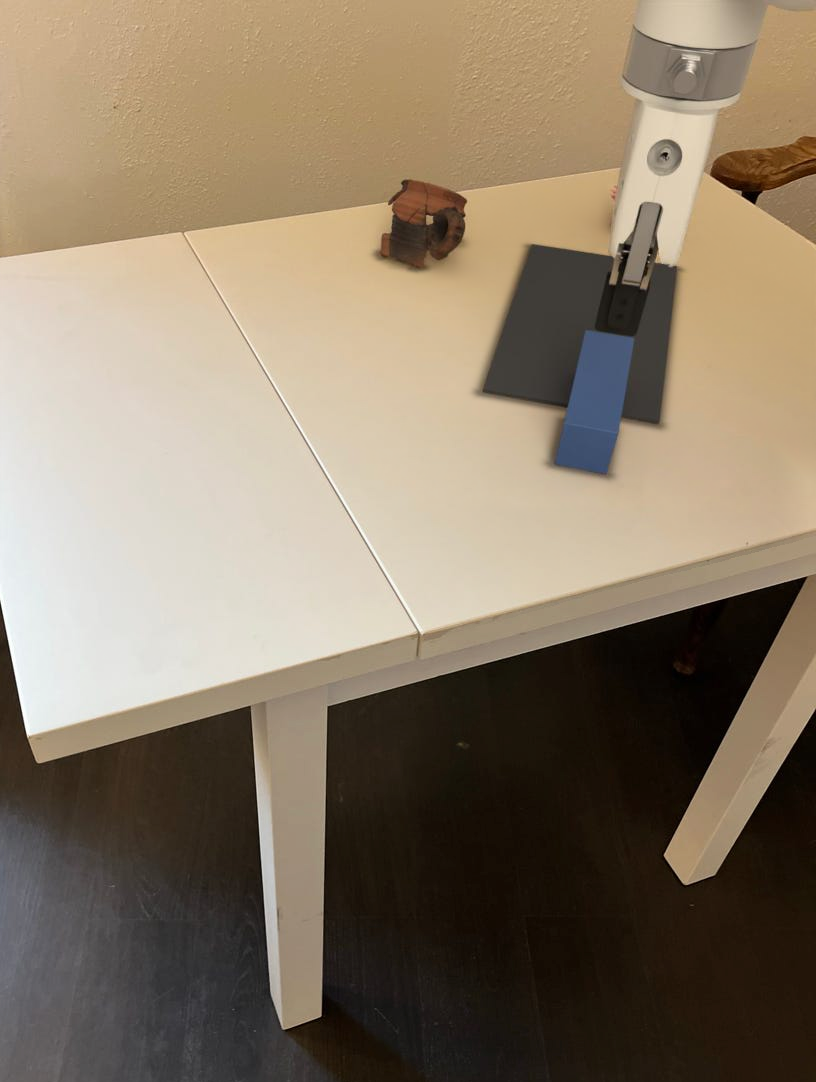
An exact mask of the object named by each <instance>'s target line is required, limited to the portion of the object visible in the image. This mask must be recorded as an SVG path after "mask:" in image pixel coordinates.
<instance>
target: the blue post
mask: <svg viewBox="0 0 816 1082" xmlns="http://www.w3.org/2000/svg"><path fill="white" fill-rule="evenodd" d="M633 344H634V338H630V337H624V336H618V335H612V334H606V333H600V332H594V331H588V330H585V334H584V338H583V342H582V346H581V350H580V355H579V359H578V363H577V367H576V371H575V376H574V380H573V384H572V389H571V393H570V398H569V402H568V406H567V407H566V411H565V416H564V419H563V425H562V429H561V433H560V437H559V442H558V446H557V452H556V455H555V459H554V465H556V466H561V467H565V468H571V469H576V470H580V471H587V472H591V473H596V474H597V473H598V474H602V475H607V473H608V471H609V467H610V463H611V460H612V456H613V453H614V451H615V450H614V449H615V446H616V444H617V440H618V437H619V434H620V433H619V432H620V426H621V421H622V417H621V416H622V410H623V404H624V398H625V392H626V386H627V380H628V374H629V368H630V362H631V356H632V350H633Z"/></svg>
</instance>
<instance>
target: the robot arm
mask: <svg viewBox="0 0 816 1082" xmlns="http://www.w3.org/2000/svg"><path fill="white" fill-rule="evenodd" d="M769 5H770V6H772V7H774V8H776V9H777V8H778V9H780V10H784V11H789V12H812V11H816V0H638V1H637V4H636V10H635V14H634V18H633V24H632V28H631V32H630V36H629V41H628V44H627V49H626V54H625V59H624V63H623V66H622V67H623V68H622V73H621V76H620V80H619V84H620V88H622V89H623V92H625V93H626V94H628V95H629V96H631V97H633V98H635V100H634V106H633V107H632V113H631V116H630V121H629V126H628V131H627V134H626V138H625V144H624V148H623V154H622V156H621V157H622V158H621V163H620V168H619V173H618V179H617V185H616V186H617V189H615V190H616V196H615V201H613V211H612V217H611V224H610V225H611V226H610V232H609V242H608V253H609V254H610V255H609V256H612V257H613V258H614V261H613V265H612V272H609V271H608V272H607V277H606V281H605V285H604V289H603V293H602V297H601V301H600V305H599V309H598V313H597V317H596V322H595V329H596V330H597V331H601V332H607V333H613V334H619V335H626V336H634V335H636V334H637V331H638V327H639V324H640V320H641V317H642V313H643V310H644V306H645V303H646V299H647V296H648V292H649V289H650V282H651V278H650V276H651V273H652V270H653V266H654V263H656V260H657V258H658V255H659V262H660V264H666V265H668V267H673V266H677V264H679V262H680V258H681V254H682V250H683V246H684V243H685V239H686V236H687V232H688V228H689V225H690V222H691V217H692V214H693V210H694V207H695V204H696V200H697V196H698V193H699V189H700V187H701V182H702V180H703V176H704V172H705V168H706V164H707V161H708V157H709V154H710V150H711V147H712V142H713V139H714V135H715V130H716V126H717V121H718V117H719V111H720V109H723V108H728V107H730V106H732V105H734V104H735V103H737V102H738V101H739V99H740V97H741V94H742V92H743V88H744V86H745V85H744V84H745V81H746V78H747V75H748V71H749V68H750V65H751V62H752V59H753V55H754V52H755V49H756V45H757V43H758V39H759V36H760V33H761V31H762V26H763V24H764V20H765V17H766V14H767V10H768V8H769Z"/></svg>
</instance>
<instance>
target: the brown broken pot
mask: <svg viewBox="0 0 816 1082" xmlns="http://www.w3.org/2000/svg"><path fill="white" fill-rule="evenodd" d="M400 184H401V187H402V188H401V189H400V190H399V191H398V192H396V193H395V194H394V195H392V197H391V198H390V199H389V200H388V202H387V205H388V206H391V212H392V214H393V215H392V218H391V227H390V228H391V230H390V232H389V233H388V232H383V233H382V234H381V238H380V255H382V256H385V257H389V258H392V259H395V261H398V262H401V263H404V264H407V265H411V266H413V267H416V268H420V269H421V268H423V266H424V263H425V259H426V257H427V255H428V252H429V254H430V256H431V258H433V259H434V260H435V261H441V260H443V259H446V258H448V256H449V254H450V253H452V252H453V251H454V250H455V249H456V248H458V246H459V245H460V243H461V241H462V240H463V238H464V235H465V232H466V221H465V218H466V215H467V214H466V212H465V207H466V205H467V203H468V200H467V198H466V197H464V196H463V195H462V194H460V193H459V192H456V191H453V190H451V189H449V188H446V187H443V186H439V185H437V184H434V183H430V182H424V181H420V180H415V179H403V180H402V181H401V182H400ZM427 216H429V217H432V223H429V224H427Z"/></svg>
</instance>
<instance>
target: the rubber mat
mask: <svg viewBox="0 0 816 1082" xmlns="http://www.w3.org/2000/svg"><path fill="white" fill-rule="evenodd" d="M613 261H614V258H613V257H612V256H611V255H606V254H599V253H594V252H587V251H580V250H574V249H569V248H568V249H567V248H560V247H554V246H548V245H541V244H535V243H532V244H531V245H530V248H529V251H528V254H527V257H526V259H525V263H524V266H523V269H522V273H521V276H520V278H519V281H518V283H517V286H516V287H517V288H516V290H515V293H514V296H513V299H512V301H511V305H510V308H509V310H508V314H507V317H506V320H505V323H504V326H503V329H502V331H501V335H500V338H499V341H498V343H497V346H496V349H495V353H494V356H493V359H492V360H491V365H490V368H489V370H488V373H487V376H486V379H485V383H484V385H483V389H482V393H485V394H491V395H497V396H501V397H507V398H511V399H512V398H514V399H518V400H524V401H529V402H535V403H541V404H545V405H551V406H557V407H562V408H567V406H568V402H569V398H570V393H571V389H572V384H573V380H574V376H575V371H576V367H577V363H578V359H579V355H580V350H581V346H582V342H583V338H584V334H585V330H588V331H594V332H600V333H606V334H612V335H618V336H624V337H630V338H634V344H633V350H632V356H631V362H630V368H629V374H628V380H627V386H626V392H625V398H624V404H623V410H622V416H621V418H622V419H630V420H634V421H640V422H644V423H645V422H646V423H651V424H656V425H659V424H660V422H661V414H662V404H663V396H664V395H663V394H664V387H665V386H664V385H665V378H666V367H667V359H668V351H669V342H670V333H671V325H672V324H671V323H672V314H673V306H674V296H675V287H676V279H677V271H678V266H677V265H674V266H673V267H668V264H662V263H661V262H660V263H658V262H655V263H654V266H653V270H652V273H651V276H650V278H651V282H650V289H649V292H648V296H647V299H646V303H645V306H644V310H643V313H642V317H641V320H640V324H639V327H638V331H637V334H636V335H634V336H626V335H619V334H613V333H607V332H601V331H597V330H596V329H595V322H596V317H597V313H598V309H599V305H600V301H601V297H602V293H603V289H604V285H605V281H606V277H607V272H608V271H609V272H612V265H613Z"/></svg>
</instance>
